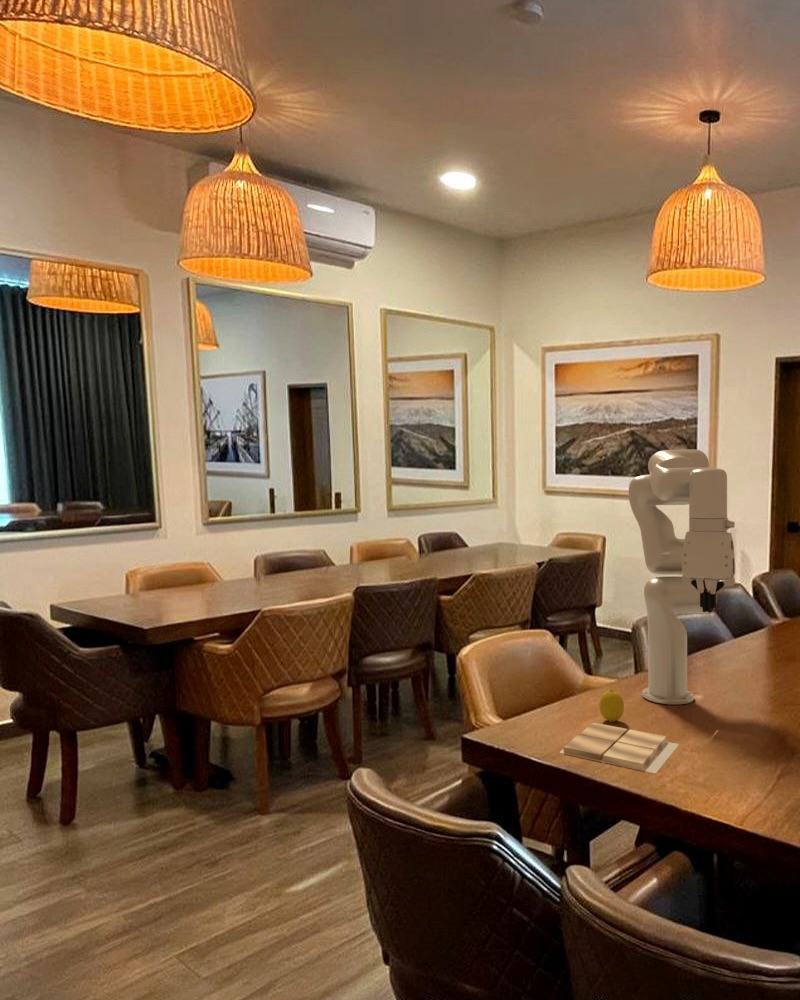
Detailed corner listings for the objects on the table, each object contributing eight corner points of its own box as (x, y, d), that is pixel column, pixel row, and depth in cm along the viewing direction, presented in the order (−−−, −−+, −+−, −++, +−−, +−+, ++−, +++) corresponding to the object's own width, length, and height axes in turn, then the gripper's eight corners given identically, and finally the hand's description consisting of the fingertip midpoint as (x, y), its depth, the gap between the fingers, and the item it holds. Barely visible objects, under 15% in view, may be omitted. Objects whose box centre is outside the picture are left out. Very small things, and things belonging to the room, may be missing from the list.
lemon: (607, 728, 169) (607, 694, 169) (595, 720, 175) (594, 687, 174) (628, 725, 171) (628, 691, 171) (615, 717, 176) (615, 685, 176)
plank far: (629, 734, 164) (629, 729, 164) (666, 741, 159) (666, 736, 159) (617, 746, 157) (617, 741, 157) (655, 754, 152) (655, 748, 152)
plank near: (616, 747, 156) (616, 742, 156) (654, 755, 152) (654, 749, 152) (603, 761, 149) (602, 755, 149) (642, 769, 145) (642, 763, 145)
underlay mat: (589, 728, 169) (589, 727, 169) (679, 746, 158) (679, 744, 158) (559, 754, 154) (559, 752, 154) (655, 775, 143) (655, 773, 143)
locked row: (592, 727, 169) (592, 722, 169) (627, 734, 164) (627, 728, 164) (563, 752, 154) (563, 746, 154) (600, 760, 150) (600, 754, 150)
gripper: (749, 525, 155) (749, 611, 156) (676, 524, 164) (676, 605, 165) (742, 528, 149) (742, 617, 150) (667, 526, 158) (667, 610, 159)
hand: (708, 611), depth 157 cm, fingers closed
